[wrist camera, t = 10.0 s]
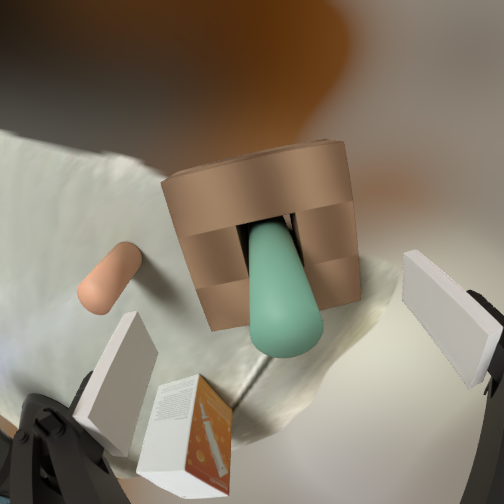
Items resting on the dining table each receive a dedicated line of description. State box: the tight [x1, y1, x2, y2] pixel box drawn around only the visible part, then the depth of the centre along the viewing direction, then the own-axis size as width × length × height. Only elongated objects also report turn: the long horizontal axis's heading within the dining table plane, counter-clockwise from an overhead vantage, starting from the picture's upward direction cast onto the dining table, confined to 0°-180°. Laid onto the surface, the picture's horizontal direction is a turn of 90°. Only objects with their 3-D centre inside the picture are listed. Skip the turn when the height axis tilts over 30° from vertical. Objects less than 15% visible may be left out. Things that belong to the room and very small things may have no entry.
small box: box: [136, 374, 233, 499], centre depth 27 cm, size 8×6×13 cm
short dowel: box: [77, 242, 142, 315], centre depth 22 cm, size 3×3×7 cm
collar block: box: [161, 139, 361, 331], centre depth 22 cm, size 12×12×5 cm
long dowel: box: [249, 215, 323, 358], centre depth 18 cm, size 3×3×14 cm
